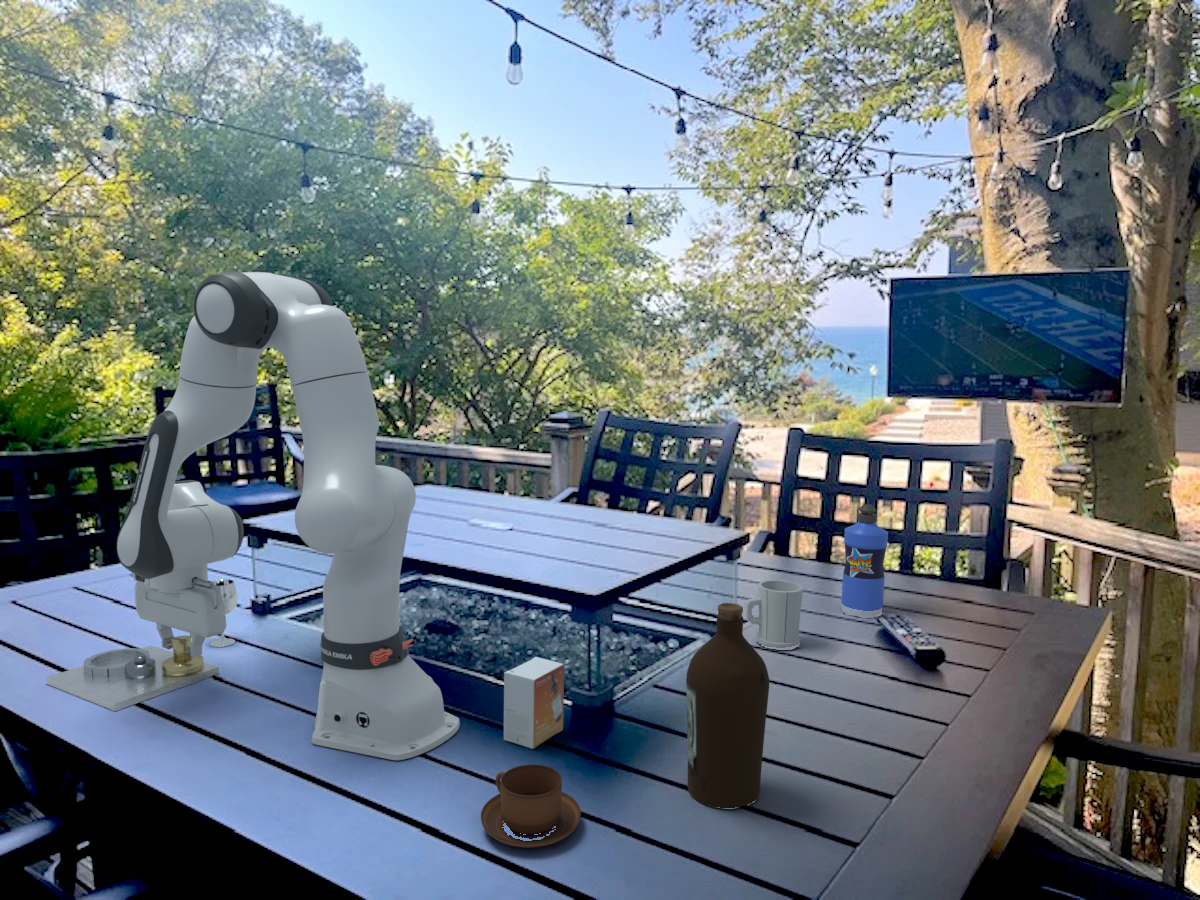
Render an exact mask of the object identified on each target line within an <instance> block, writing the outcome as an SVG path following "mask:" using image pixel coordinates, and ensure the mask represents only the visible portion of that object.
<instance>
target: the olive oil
mask: <svg viewBox="0 0 1200 900" xmlns="http://www.w3.org/2000/svg"><path fill="white" fill-rule="evenodd" d="M743 608H744V607H743V606H742V605H740V604H738V603H732V602H722V603H720V604H718V605H717V611H718V614H717V615H716V632H715V634H714V635H713V636H712V637H711V638H709V640H708V641H706V642H705V643H704V644H703V645H702V646H701V647H700V648H699V649H698V650H697V651H695V653H694V654H693V655H692V657H691V659H690V662H689V664H688V667H687V671H686V679H685V685H686V686H685V688H686V692H685V693H686V728H687V729H686V731H687V732H686V734H687V735H686V738H687V740H686V741H687V742H686V743H687V744H686V745H687V790H688V793H689V794H690V796H691V797H692V798H694V800H696V801H697V800H698V802H699V803H700V804H703V805H705V804H706V805H705V806H707V805H708V807H710V806H713V807H712V808H714V807H720V808H735V807H741V806H745V805H748V804H750V803H752V802H753V801H755V800H756V799H757V798H758V796H759V797H760V794H759V793H761V779H762V766H763V754H764V741H765V731H766V722H767V711H768V703H769V701H768V700H769V693H770V692H769V691H770V677H769V672H768V669H767V665H766V662H765V661H764V659H763V658H762V656H761V655H760V654H759V653H758V652H757V650H756V649H755V648H754V647H753V646H752V645H751V643H750V642H749V641H748V640H747V639H746V638H745V637H744V635H743V631H744V630H743V629H744V616H743V613H744V611H743V610H744V609H743ZM758 799H759V798H758ZM758 799H757V800H758ZM709 805H710V806H709Z"/></svg>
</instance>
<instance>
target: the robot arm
mask: <svg viewBox="0 0 1200 900" xmlns="http://www.w3.org/2000/svg"><path fill="white" fill-rule="evenodd" d="M193 313H194V316H193V317H192V318H191V319H190V321H189V324H188V328H187V331H186V335H185V338H184V342H183V346H182V352H181V356H180V357H181V358H180V363H179V365H180V366H179V372H178V373H179V374H178V383H177V386H176V390H175V392H174V394H173V397H172V399H171V401H170V403H169V405H168V406H167V407H166V408H165V410H164V411H163V412H161V413H160V414H158V415H156V416H155V417H154V419H153V420H152V423H151V424H150V427H149V431H148V434H147V436H146V440H145V444H144V447H143V452H142V455H141V458H140V462H139V467H138V470H137V473H136V479H135V483H134V487H133V490H132V495H131V497H130V503H129V506H128V510H127V512H126V515H125V517H124V520H123V521H122V523H121V526H120V529H119V531H118V533H117V538H116V554H117V557H118V560H119V562H120V564H121V566H123V567H124V568H125V569H126V570H128V571H129V572H130V573H132V579H133V580H134V581H135V585H134V601H135V603H134V604H135V610H136V613H137V615H138V617H139V618H140V619H142V620H145V621H147V622H148V621H149V622H150V623H151V622H152V623H155V624H156V630H157V632H158V634H159V636H160V638H161V648H162V649H163V648H164V649H165V650H171V649H173V638H175V637H176V636H174V633H173V630H172V628H173V629H175V630H178V631H182V632H186V633H189V636H190V638H191V645H190V646H187V651H188V652H187V654H188V655H189V656H192V657H197V656H200V655H201V656H202V654H203V645H204V642H205V641H206V638H212V637H215V636H218V635H221V633H223V632H225V630H226V628H227V619H226V615H225V608H224V602H223V597H222V595H221V593H220V591H219V589H217V588H216V586H215V585H214V583H213V582H212V580H208V579H209V578H208V577H209V575H208V573H209V572H208V571H209V570H208V564H211V563H212V564H213V563H216V562H221V561H224V560H225V561H226V560H227V559H230V558H234V556H236V554H238V551H239V550H240V549H241V547H242V544H243V540H244V537H245V536H244V533H245V532H244V531H245V530H244V525H243V524H244V523H243V519H242V517H241V516H240V515H239V514H238V512H237V511H236V510H234V509H233V508H232V507H230V505H227V504H221V503H219V502H217V501H216V500H215V499H213V498H211V496H209V495H208V494H207V493H206V491H205V489H204V487H203V485H202V484H201V482H200V481H198V480H196V479H195V480H194V479H188V480H187V479H186V480H178V481H177V476H178V471H179V469H180V467H181V466H182V464H183V463H184V461H185V460H186V459H187V458H188V457H190V455H193V454H194V453H195V452H196V451H199V450H200V449H202V448H203V447H204V446H205V447H206V446H207V445H209V444H211V443H214V442H215V441H216V442H217V441H218V440H221V439H223V438H226V437H228V436H230V435H232V434H234V433H235V432H236V431H238V430H239V429H240V428H241V427H243V425H245V423H247V422H248V420H249V419H250V417H251V416H252V413H253V410H254V407H255V402H256V395H257V394H256V393H257V383H258V382H257V381H258V369H259V368H258V367H259V366H258V365H259V359H260V357H261V355H262V353H263V352H264V351H266V350H267V349H268V348H269V349H272V348H273V349H275V350H277V351H278V352H279V353H280V355H282V357H283V359H284V362H285V365H286V368H287V372H288V377H289V381H290V387H291V390H292V394H293V399H294V403H295V407H296V412H297V416H298V420H299V426H300V430H301V437H302V441H303V443H302V445H303V478H302V480H303V481H302V482H303V483H302V484H303V485H302V490H301V491H302V492H301V495H300V498H299V500H298V502H297V505H296V507H295V512H294V524H295V528H296V532H297V533H298V535H299V537H300V539H301V540H302V542H304V544H305V545H306V546H308V547H309V548H311V549H312V550H315V552H319V553H321V554H322V553H323V554H333V557H332V561H331V563H330V567H329V569H328V572H327V574H326V575H325V577H324V581H323V586H322V597H323V599H322V600H323V602H322V603H323V605H322V607H323V632H322V633H321V636H320V645H319V648H320V658H321V660H322V661H323V667H322V674H321V677H320V684H319V690H318V701H317V712H316V716H315V718H314V719H315V720H314V722H313V728H314V731H313V732H312V734H311V735H312V736H311V743H312V745H313V744H314V745H316V746H321V747H326V748H331V749H335V750H339V751H340V750H341V751H346V752H351V753H356V754H360V755H366V756H371V757H375V758H382V759H387V760H391V761H403V760H406V759H410V758H415V757H417V756H419V755H422V754H424V753H426V752H430V750H433V749H435V748H436V747H438V746H440V745H441V744H443V743H446V741H447V740H449V739H450V738H451V737H453V736H454V735H455V734H456V733H457V732H458V730H459V729H460V725H461V722H460V718H459V717H457V716H455V715H453V714H451V713H449V712H447V711H445V708H444V699H443V693H442V691H441V688H440V687H439V686H438V684H436V683H435V681H434V680H433V678H432V677H431V676H430V675H428V674H427V673H426V672H425V671H424V670H423V669H422V668H421V667H420V666H419V664H417V663H416V662H415V660H414V659H413V658H412V657H411V656H410V655H409V653H410V651H409V648H410V647H413V646H414V644H413V643H412V642H413V641H414V638H410V639H408V640H406V638H405V635H404V633H403V632H404V631H403V630H402V627H401V626H400V578H401V570H402V564H403V558H404V552H405V548H406V541H407V535H408V530H409V529H408V528H409V522H410V518H411V516H412V513H413V510H414V507H415V505H416V500H417V499H416V498H417V497H416V496H417V494H416V488H415V486H414V483H413V481H412V480H411V478H410V477H409V476H408V474H406V473H404V472H403V471H402V470H400V469H398V468H397V467H392V466H388V465H380V464H377V465H376V444H377V443H376V441H377V435H378V433H379V428H380V419H379V414H378V410H377V406H376V401H375V397H374V393H373V388H372V383H371V380H370V375H369V373H368V372H369V371H368V368H367V364H366V360H365V357H364V354H363V350H362V347H361V345H360V341H359V340H358V339H359V338H358V337H357V334H356V332H355V331H356V330H355V329H354V327H353V325H352V323H351V320H350V318H349V316H348V315H347V314H346V313H345V312H344V311H343V310H342V309H340V308H339V307H336V306H334V305H333V302H332V299H331V297H330V296H329V294H328V292H327V291H326V289H324V288H323V287H322V286H321V285H319V284H317V283H316V282H313V281H311V280H309V279H306V278H302V277H298V276H297V277H291V276H285V275H281V274H275V273H272V272H265V271H264V272H262V271H245V272H243V271H242V272H240V271H236V270H233V271H231V270H230V271H223V272H219V273H215V274H212V275H210V276H208V277H206V278H204V279H203V280H202V281H201V282H200V284H199V285H198V286H197V288H196V291H195V294H194V298H193ZM411 643H412V644H411Z"/></svg>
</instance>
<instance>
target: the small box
mask: <svg viewBox="0 0 1200 900" xmlns="http://www.w3.org/2000/svg"><path fill="white" fill-rule="evenodd" d="M564 691H565V664H564V663H561V662H557V661H554V660H550V659H547V658H542V657H539V656H534V657H533V658H531V659H530V660H528V661H526V662H523V663H521V664H520V665H517V666H516V667H513V668H511V669H510V670H507V671H504V672H503V740H504V741H506V742H510V743H514V744H515V745H519V746H523V747H526V748H529V749H532V750H533V749H535V748H537V747H538V746H539V745H541V744H542V743H544V742H545V741H548V740H549V739H550V738H552V737H553V736H554V735H556V734H558V733H561V732H562V731H563V729H564V702H565V701H564V696H565V695H564V694H565V693H564Z"/></svg>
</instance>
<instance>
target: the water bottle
mask: <svg viewBox="0 0 1200 900" xmlns="http://www.w3.org/2000/svg"><path fill="white" fill-rule="evenodd" d="M858 511H859V512H858V513H857V515H856V521H857V522H856V523H855V524H853V525H850V526H848V527H845V528H844V535H843V536H844V537H843V538H844V539H843V543H844V551H845V552H844V553H845V563H844V568H843V572H842V587H841V603H842V604H843V605H844V606H846V607H849V608H852V609H857V610H863V611H874V610H879V609H881V608H884V595H885V594H884V593H885V570H884V569H885V568H884V562H885V557H886V552H887V548H888V538H889V532H888V531H887V530H886V529H884V528H883V527H880V526H878V524H877V522H878V520H877V519H878V514H876V512H877V508H875V506H873V504H871V503H864V504H862V505H861V506H860V507H858ZM841 603H840V604H841Z"/></svg>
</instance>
